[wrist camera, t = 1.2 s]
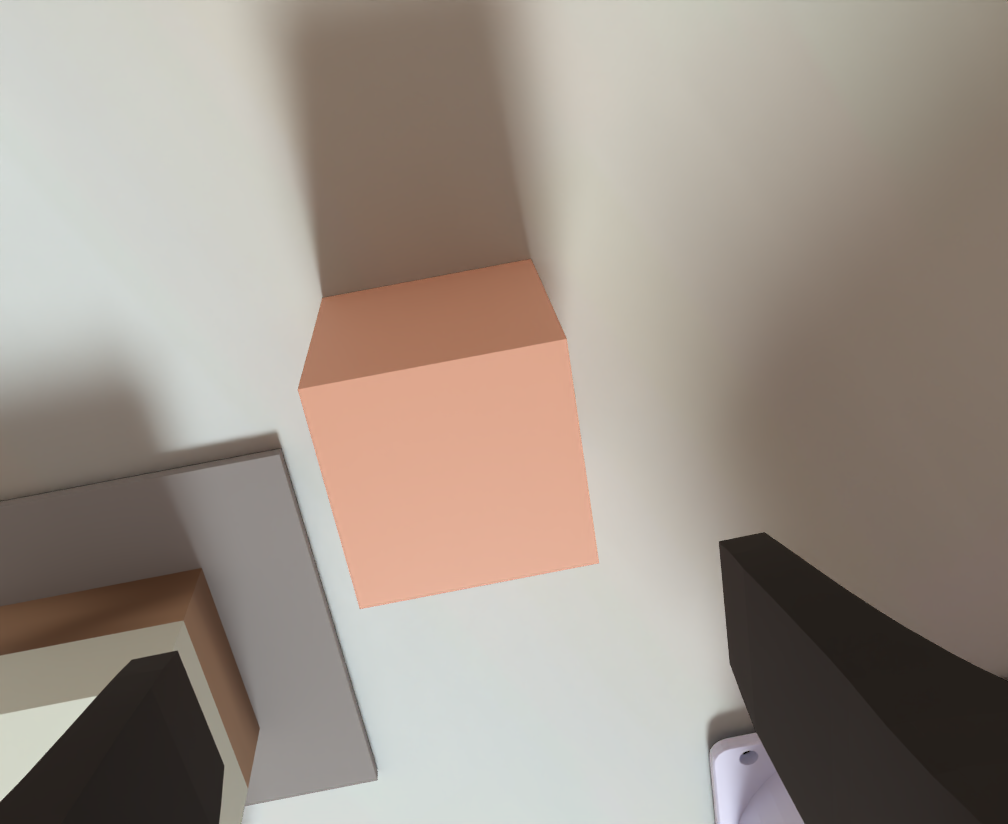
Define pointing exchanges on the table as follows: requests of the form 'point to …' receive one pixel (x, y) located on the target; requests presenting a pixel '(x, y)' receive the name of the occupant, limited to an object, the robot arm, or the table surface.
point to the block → (448, 433)
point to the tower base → (136, 610)
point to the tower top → (77, 682)
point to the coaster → (214, 596)
